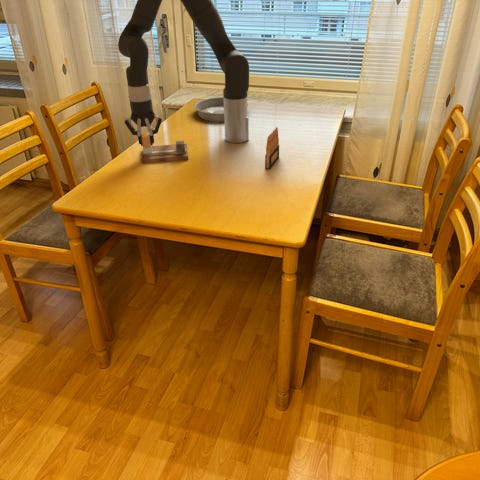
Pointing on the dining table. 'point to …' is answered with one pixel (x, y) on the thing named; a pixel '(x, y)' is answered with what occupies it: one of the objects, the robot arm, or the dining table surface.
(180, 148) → the brown slider base
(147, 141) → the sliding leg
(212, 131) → the dining table surface
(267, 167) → the ammunition clip
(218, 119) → the cake pan
